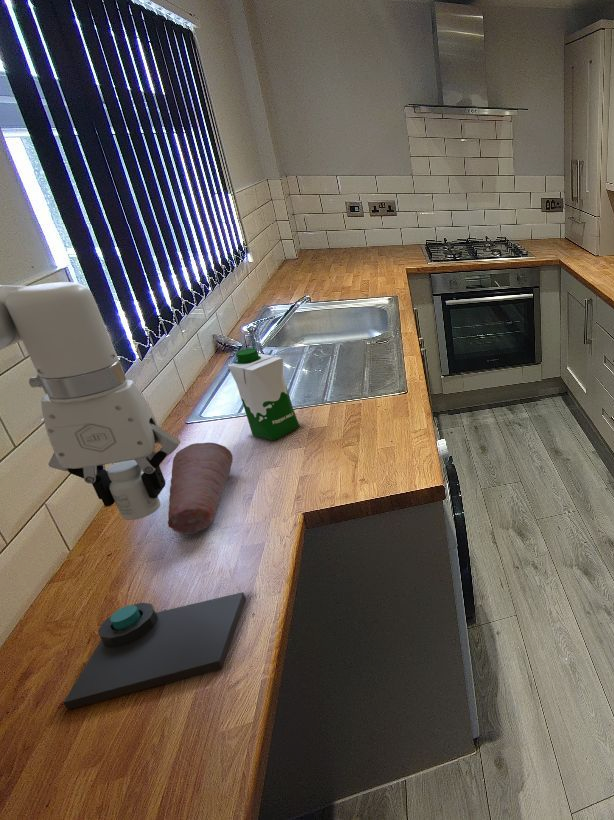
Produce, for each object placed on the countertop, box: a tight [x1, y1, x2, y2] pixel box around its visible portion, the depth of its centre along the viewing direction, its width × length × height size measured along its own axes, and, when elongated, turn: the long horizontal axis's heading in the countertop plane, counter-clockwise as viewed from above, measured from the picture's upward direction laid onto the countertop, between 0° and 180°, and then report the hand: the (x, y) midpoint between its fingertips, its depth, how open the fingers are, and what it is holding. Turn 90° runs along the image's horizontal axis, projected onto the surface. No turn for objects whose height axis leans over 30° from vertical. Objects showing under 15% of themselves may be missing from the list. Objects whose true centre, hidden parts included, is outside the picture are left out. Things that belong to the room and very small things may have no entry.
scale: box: [63, 591, 247, 711], centre depth 70 cm, size 16×13×3 cm
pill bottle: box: [106, 460, 161, 521], centre depth 74 cm, size 4×4×8 cm
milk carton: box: [227, 348, 301, 442], centre depth 120 cm, size 9×9×20 cm
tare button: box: [109, 604, 141, 630], centre depth 71 cm, size 3×3×2 cm
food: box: [167, 442, 234, 535], centre depth 97 cm, size 21×9×9 cm, turn 32°
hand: (135, 495), depth 75 cm, fingers closed on pill bottle, 4 cm apart
